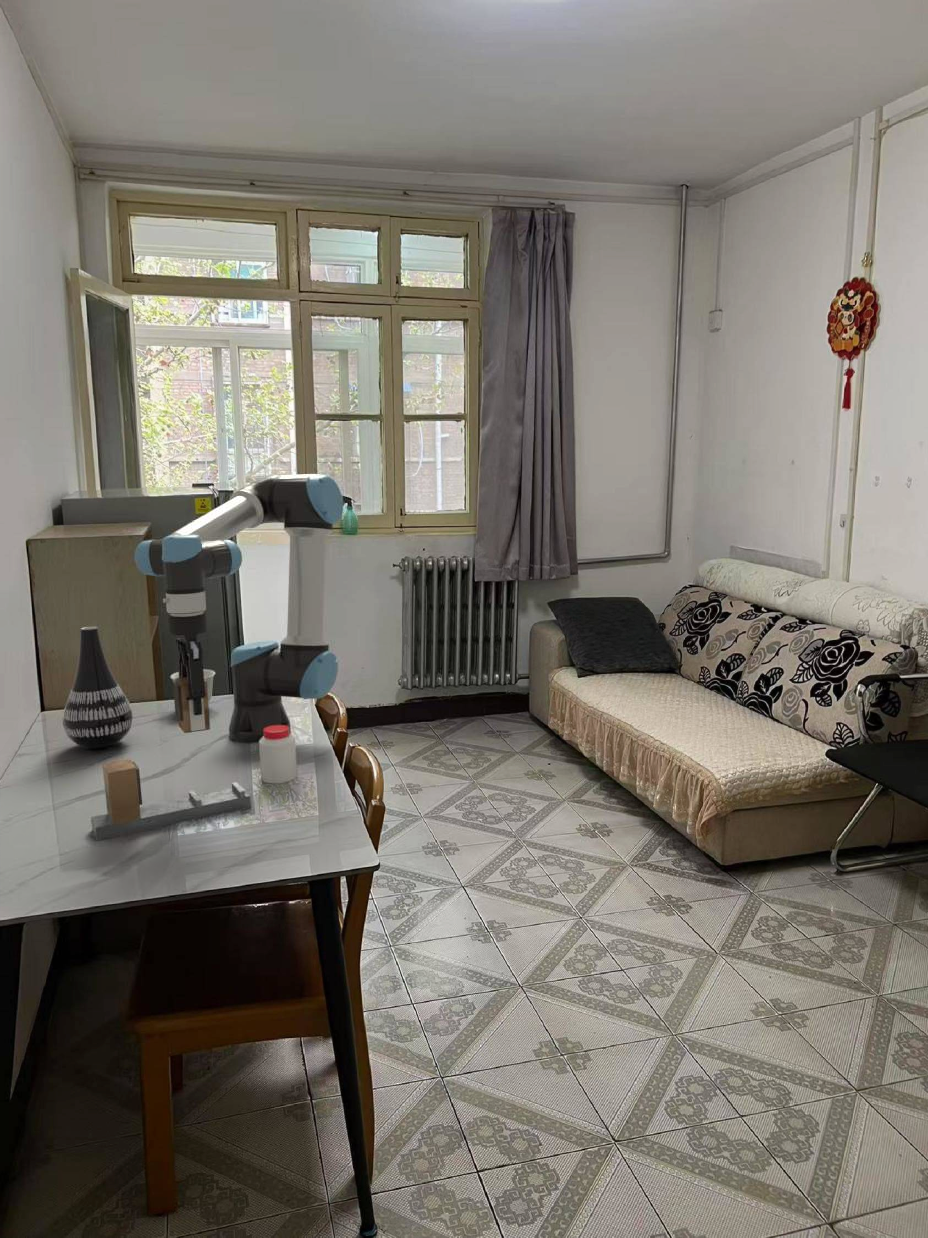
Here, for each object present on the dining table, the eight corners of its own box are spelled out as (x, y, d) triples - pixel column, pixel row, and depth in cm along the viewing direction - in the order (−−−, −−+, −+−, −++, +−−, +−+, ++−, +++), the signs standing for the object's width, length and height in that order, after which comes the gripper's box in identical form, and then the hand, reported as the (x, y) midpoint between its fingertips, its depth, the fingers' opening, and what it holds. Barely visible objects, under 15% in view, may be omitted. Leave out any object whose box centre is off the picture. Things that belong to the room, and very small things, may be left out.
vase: (135, 732, 236) (125, 619, 231) (134, 751, 221) (123, 631, 216) (68, 740, 231) (56, 625, 226) (62, 760, 216) (49, 636, 211)
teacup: (160, 717, 249) (156, 681, 247) (185, 702, 264) (182, 668, 262) (202, 718, 247) (199, 682, 245) (225, 703, 262) (222, 669, 260)
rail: (242, 798, 189) (238, 739, 187) (251, 807, 184) (246, 747, 182) (92, 829, 175) (85, 766, 173) (96, 840, 170) (90, 776, 168)
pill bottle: (304, 773, 203) (301, 725, 201) (283, 785, 196) (280, 735, 194) (275, 769, 206) (272, 721, 204) (254, 780, 199) (250, 731, 197)
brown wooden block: (203, 722, 191) (200, 675, 189) (210, 729, 185) (206, 681, 184) (175, 726, 188) (172, 678, 186) (181, 733, 183) (177, 684, 181)
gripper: (158, 608, 190) (166, 717, 193) (176, 621, 173) (185, 740, 177) (195, 605, 193) (203, 712, 197) (216, 618, 176) (224, 734, 180)
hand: (194, 725), depth 187 cm, fingers closed on brown wooden block, 6 cm apart
